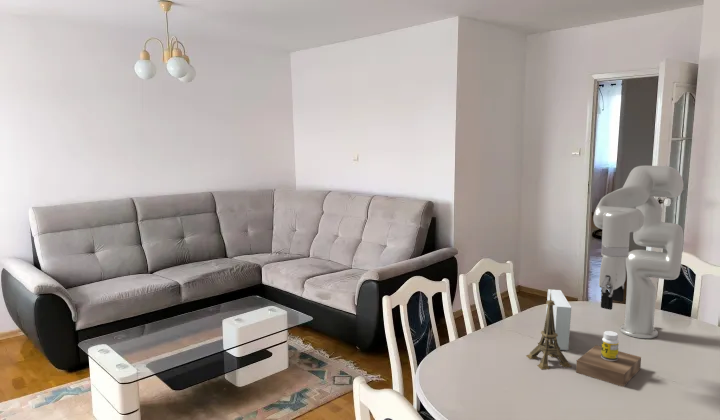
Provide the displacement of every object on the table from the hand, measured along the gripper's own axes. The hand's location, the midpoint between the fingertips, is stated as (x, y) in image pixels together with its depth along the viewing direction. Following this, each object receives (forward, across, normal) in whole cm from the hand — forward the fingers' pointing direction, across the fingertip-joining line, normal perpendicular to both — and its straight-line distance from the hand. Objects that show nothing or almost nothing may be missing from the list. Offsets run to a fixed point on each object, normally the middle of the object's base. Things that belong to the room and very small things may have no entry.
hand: (612, 304), depth 160 cm
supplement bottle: (+18, 0, 0) cm, 18 cm away
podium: (+22, 0, 0) cm, 22 cm away
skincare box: (+22, -14, -23) cm, 35 cm away
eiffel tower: (+22, +6, -17) cm, 29 cm away
